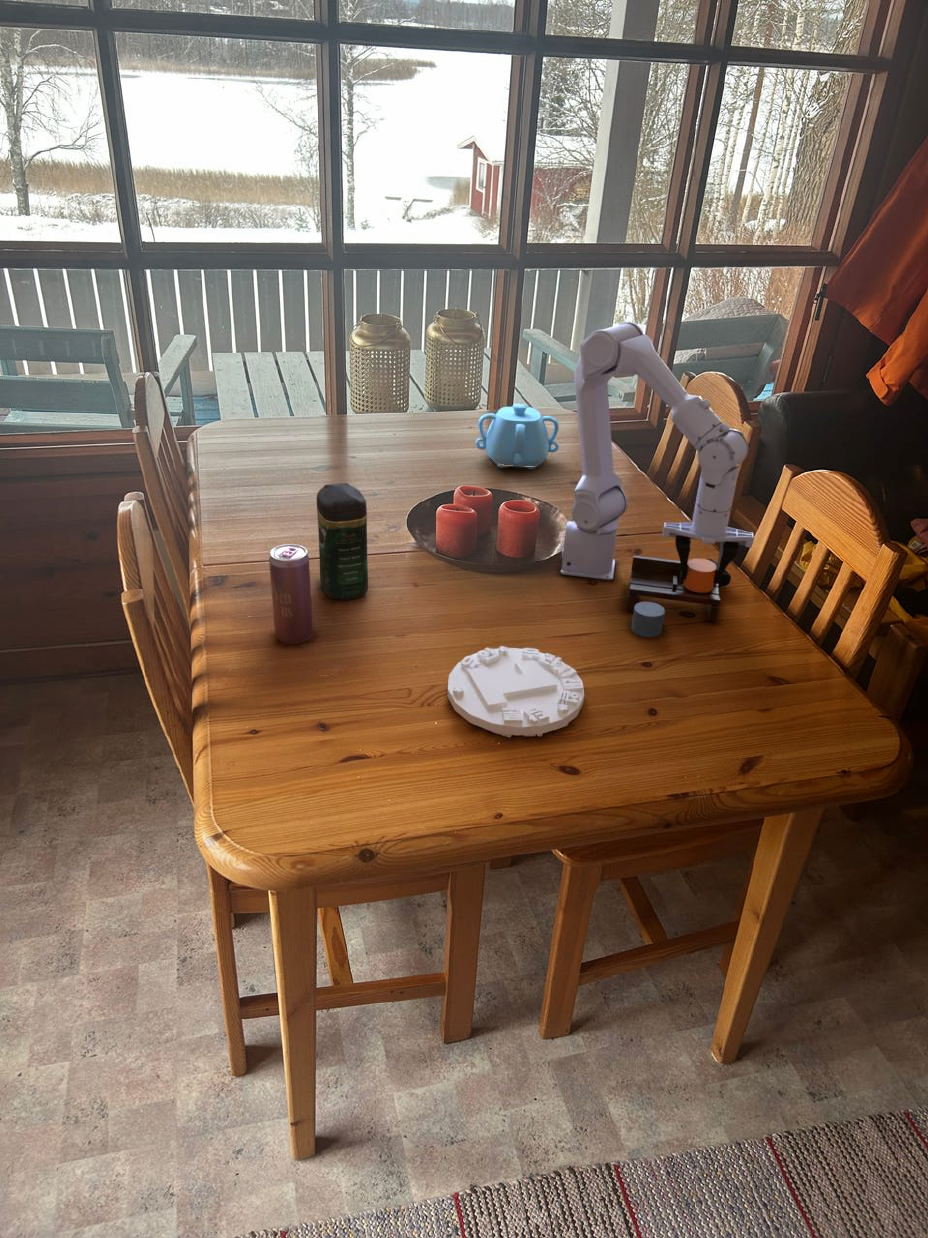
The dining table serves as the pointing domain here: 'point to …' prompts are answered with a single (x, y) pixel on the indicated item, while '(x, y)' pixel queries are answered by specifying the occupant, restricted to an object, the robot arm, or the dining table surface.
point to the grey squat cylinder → (647, 619)
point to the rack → (666, 585)
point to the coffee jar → (342, 541)
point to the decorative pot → (517, 436)
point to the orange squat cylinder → (700, 575)
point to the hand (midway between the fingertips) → (699, 578)
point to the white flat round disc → (515, 691)
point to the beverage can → (291, 593)
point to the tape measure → (723, 577)
